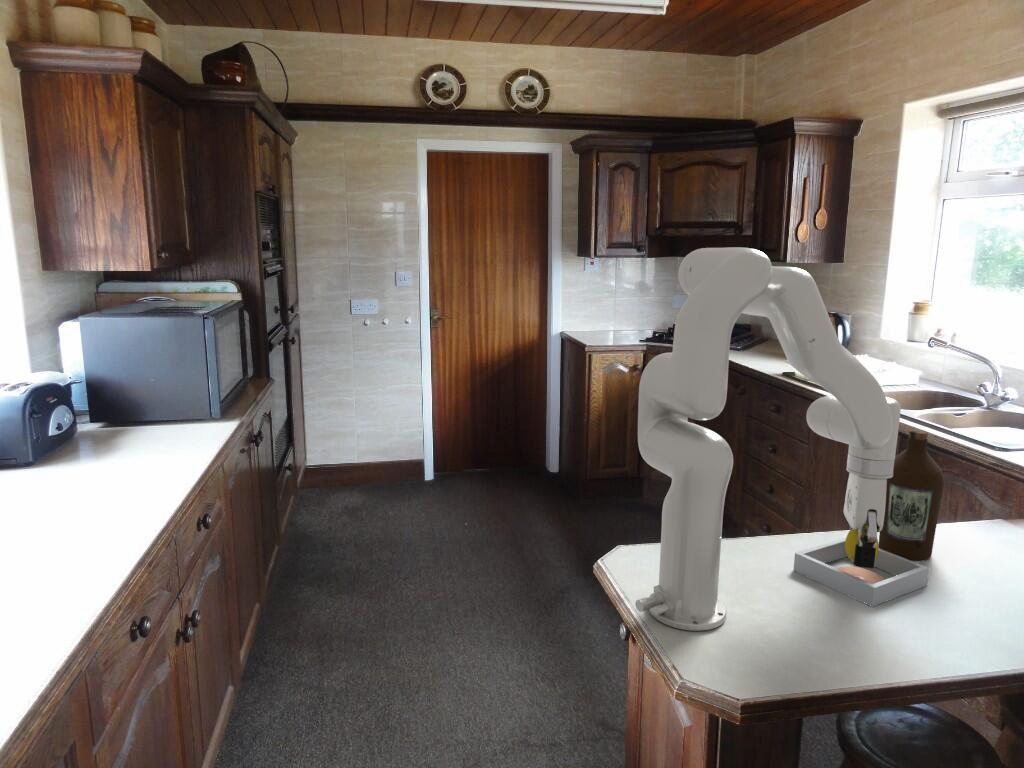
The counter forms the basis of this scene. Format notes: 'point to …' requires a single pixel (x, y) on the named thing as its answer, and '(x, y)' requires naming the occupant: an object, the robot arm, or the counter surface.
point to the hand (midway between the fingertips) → (860, 558)
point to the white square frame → (861, 573)
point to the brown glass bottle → (912, 502)
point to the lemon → (853, 540)
